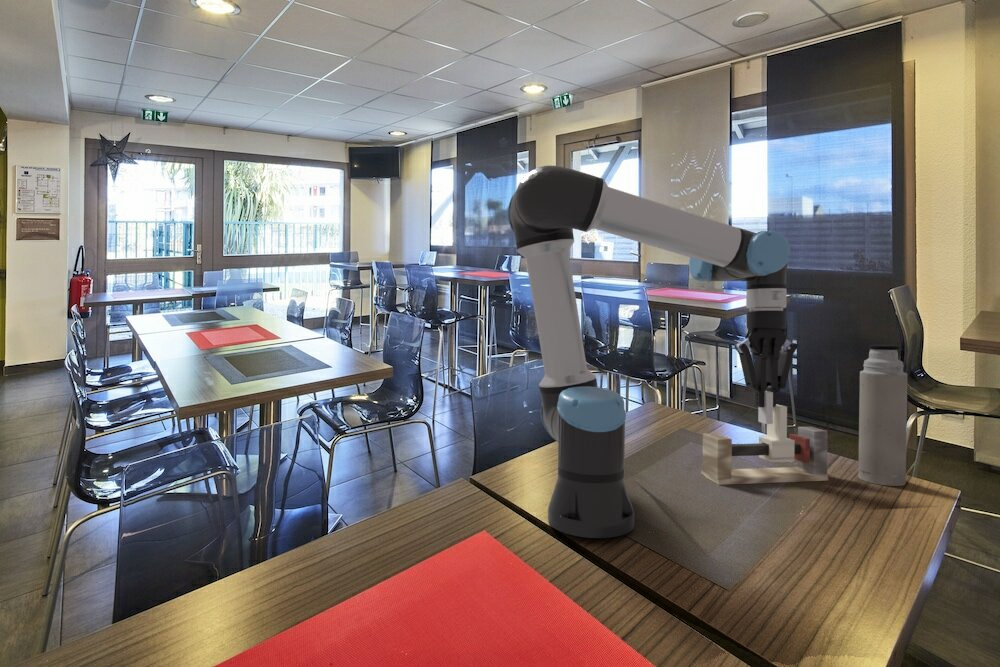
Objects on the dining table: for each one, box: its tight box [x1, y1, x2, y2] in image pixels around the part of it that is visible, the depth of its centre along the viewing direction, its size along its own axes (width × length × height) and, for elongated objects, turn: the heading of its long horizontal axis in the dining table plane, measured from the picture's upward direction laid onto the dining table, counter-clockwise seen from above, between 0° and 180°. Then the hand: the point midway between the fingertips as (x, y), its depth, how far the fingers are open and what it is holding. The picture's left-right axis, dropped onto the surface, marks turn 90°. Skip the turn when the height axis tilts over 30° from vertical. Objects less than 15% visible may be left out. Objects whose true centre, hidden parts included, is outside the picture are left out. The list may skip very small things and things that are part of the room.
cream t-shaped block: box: [758, 403, 795, 463], centre depth 112 cm, size 5×4×11 cm
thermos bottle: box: [857, 344, 908, 487], centre depth 110 cm, size 8×8×28 cm
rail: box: [700, 426, 829, 486], centre depth 112 cm, size 24×7×10 cm, turn 97°
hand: (765, 422), depth 112 cm, fingers closed
